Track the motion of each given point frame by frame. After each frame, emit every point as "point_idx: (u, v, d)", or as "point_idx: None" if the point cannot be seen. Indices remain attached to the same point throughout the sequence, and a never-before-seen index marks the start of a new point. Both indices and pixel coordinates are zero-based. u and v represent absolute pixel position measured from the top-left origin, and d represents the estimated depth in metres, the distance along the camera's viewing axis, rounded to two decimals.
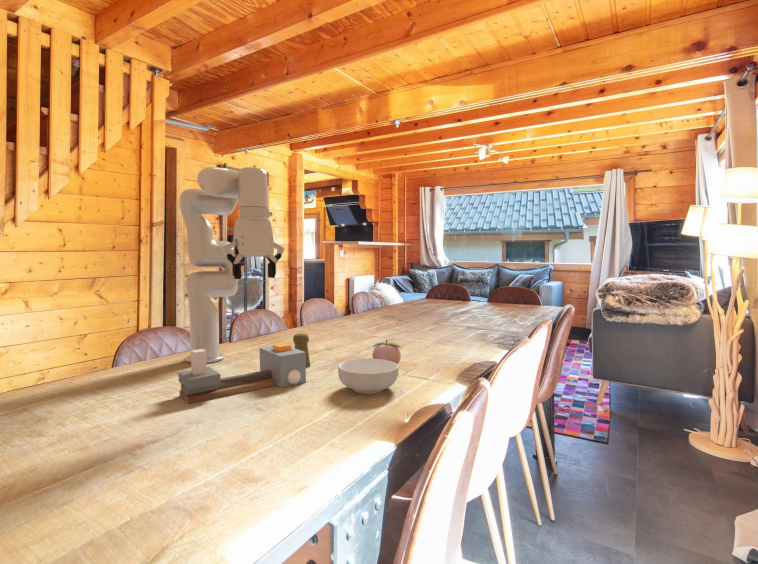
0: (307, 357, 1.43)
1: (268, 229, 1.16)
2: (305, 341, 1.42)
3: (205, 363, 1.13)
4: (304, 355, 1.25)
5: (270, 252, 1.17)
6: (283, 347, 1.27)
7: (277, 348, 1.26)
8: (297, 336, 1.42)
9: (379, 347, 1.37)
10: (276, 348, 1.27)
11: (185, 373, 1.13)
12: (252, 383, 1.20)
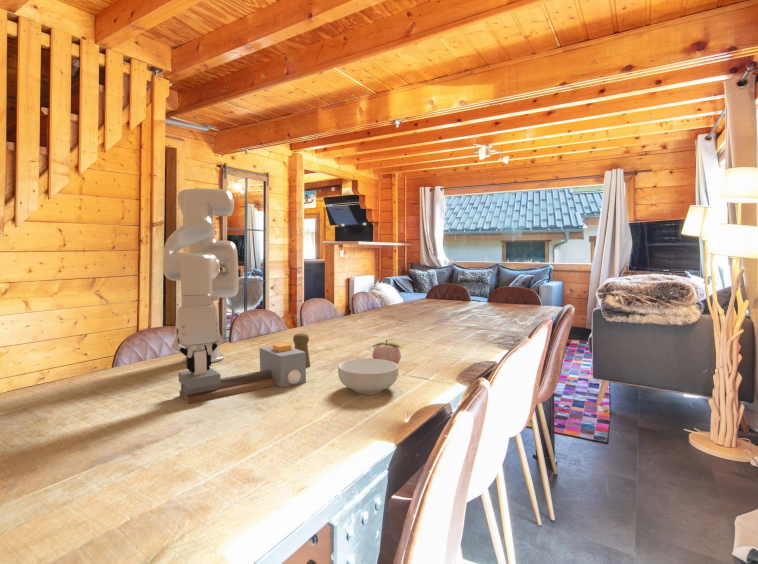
0: (307, 357, 1.43)
1: (212, 315, 1.13)
2: (305, 341, 1.42)
3: (205, 363, 1.13)
4: (304, 355, 1.25)
5: (215, 338, 1.14)
6: (283, 347, 1.27)
7: (277, 348, 1.26)
8: (297, 336, 1.42)
9: (379, 347, 1.37)
10: (276, 348, 1.27)
11: (185, 373, 1.13)
12: (252, 383, 1.20)
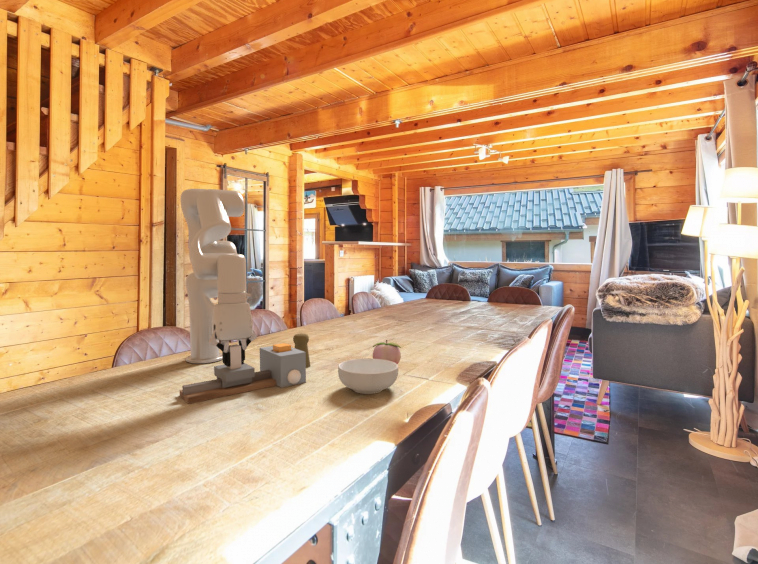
0: (307, 357, 1.43)
1: (247, 312, 1.19)
2: (305, 341, 1.42)
3: (240, 357, 1.19)
4: (304, 355, 1.25)
5: (249, 334, 1.20)
6: (283, 347, 1.27)
7: (277, 348, 1.26)
8: (297, 336, 1.42)
9: (379, 347, 1.37)
10: (276, 348, 1.27)
11: (221, 367, 1.19)
12: (252, 383, 1.20)
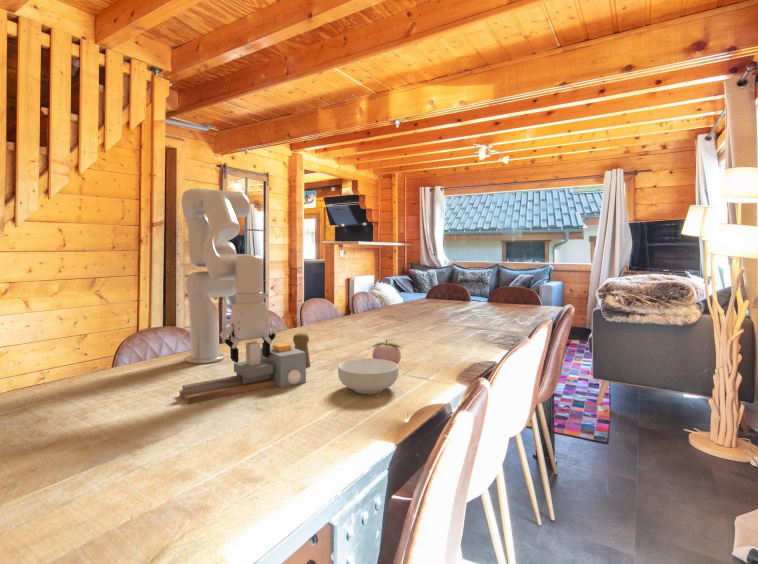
0: (307, 357, 1.43)
1: (263, 312, 1.22)
2: (305, 341, 1.42)
3: (259, 354, 1.22)
4: (304, 355, 1.25)
5: (265, 333, 1.23)
6: (283, 347, 1.27)
7: (277, 348, 1.26)
8: (297, 336, 1.42)
9: (379, 347, 1.37)
10: (276, 348, 1.27)
11: (240, 364, 1.23)
12: (252, 383, 1.20)
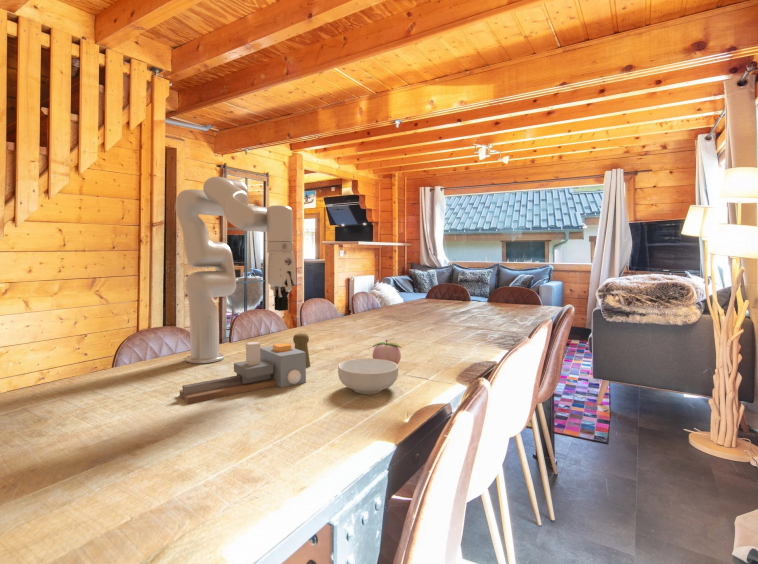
0: (307, 357, 1.43)
1: (278, 261, 1.23)
2: (305, 341, 1.42)
3: (259, 354, 1.22)
4: (304, 355, 1.25)
5: (280, 283, 1.23)
6: (283, 347, 1.27)
7: (277, 348, 1.26)
8: (297, 336, 1.42)
9: (379, 347, 1.37)
10: (276, 348, 1.27)
11: (240, 364, 1.23)
12: (252, 383, 1.20)
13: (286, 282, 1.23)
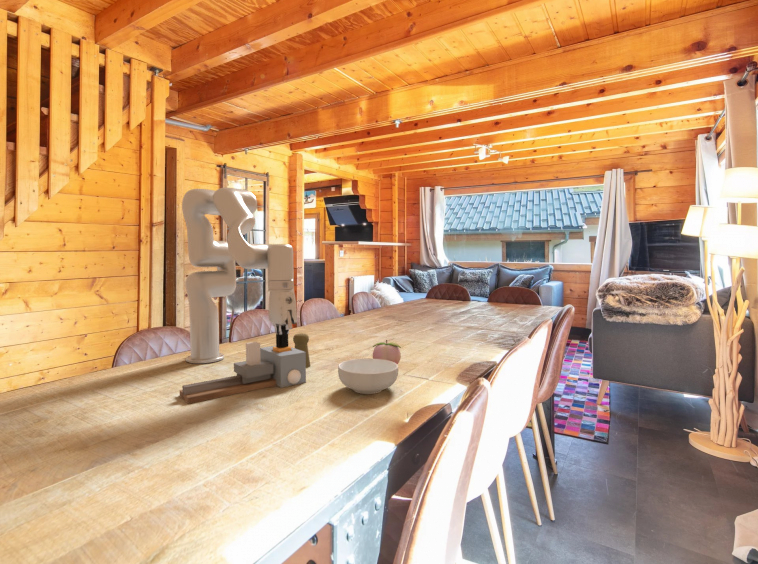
0: (307, 357, 1.43)
1: (279, 300, 1.24)
2: (305, 341, 1.42)
3: (259, 354, 1.22)
4: (304, 355, 1.25)
5: (281, 321, 1.24)
6: (283, 349, 1.27)
7: (277, 350, 1.26)
8: (297, 336, 1.42)
9: (379, 347, 1.37)
10: (276, 350, 1.27)
11: (240, 364, 1.23)
12: (252, 383, 1.20)
13: (287, 321, 1.24)
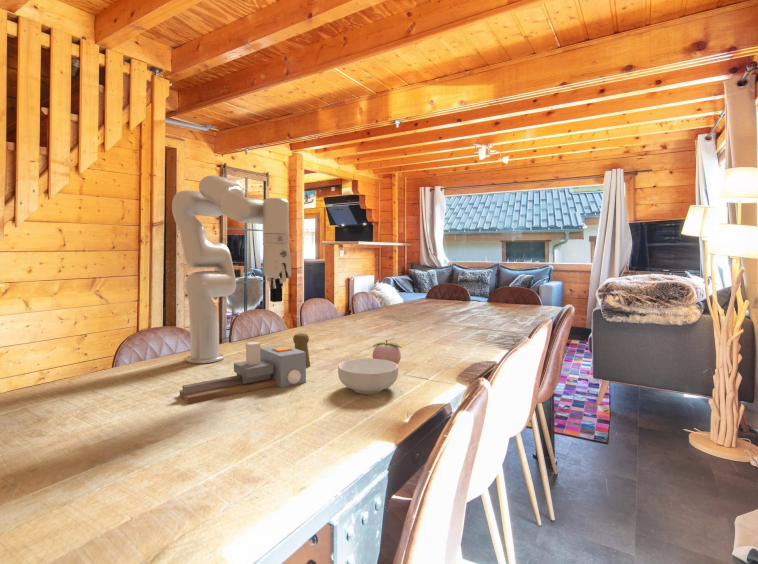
0: (307, 357, 1.43)
1: (273, 253, 1.24)
2: (305, 341, 1.42)
3: (259, 354, 1.22)
4: (304, 355, 1.25)
5: (275, 275, 1.24)
6: (283, 351, 1.27)
7: (277, 351, 1.26)
8: (297, 336, 1.42)
9: (379, 347, 1.37)
10: None
11: (240, 364, 1.23)
12: (252, 383, 1.20)
13: (281, 275, 1.25)
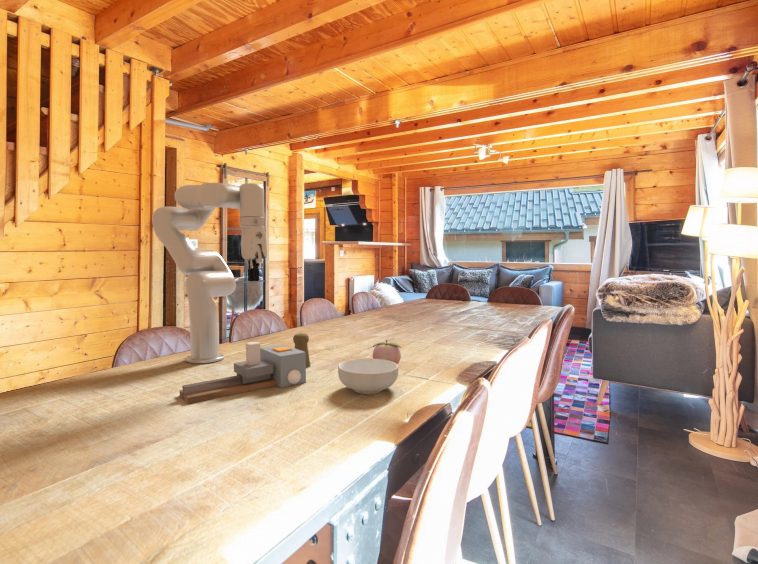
0: (307, 357, 1.43)
1: (250, 235, 1.33)
2: (305, 341, 1.42)
3: (259, 354, 1.22)
4: (304, 355, 1.25)
5: (251, 255, 1.33)
6: (283, 351, 1.27)
7: (277, 351, 1.26)
8: (297, 336, 1.42)
9: (379, 347, 1.37)
10: None
11: (240, 364, 1.23)
12: (252, 383, 1.20)
13: (257, 255, 1.33)
